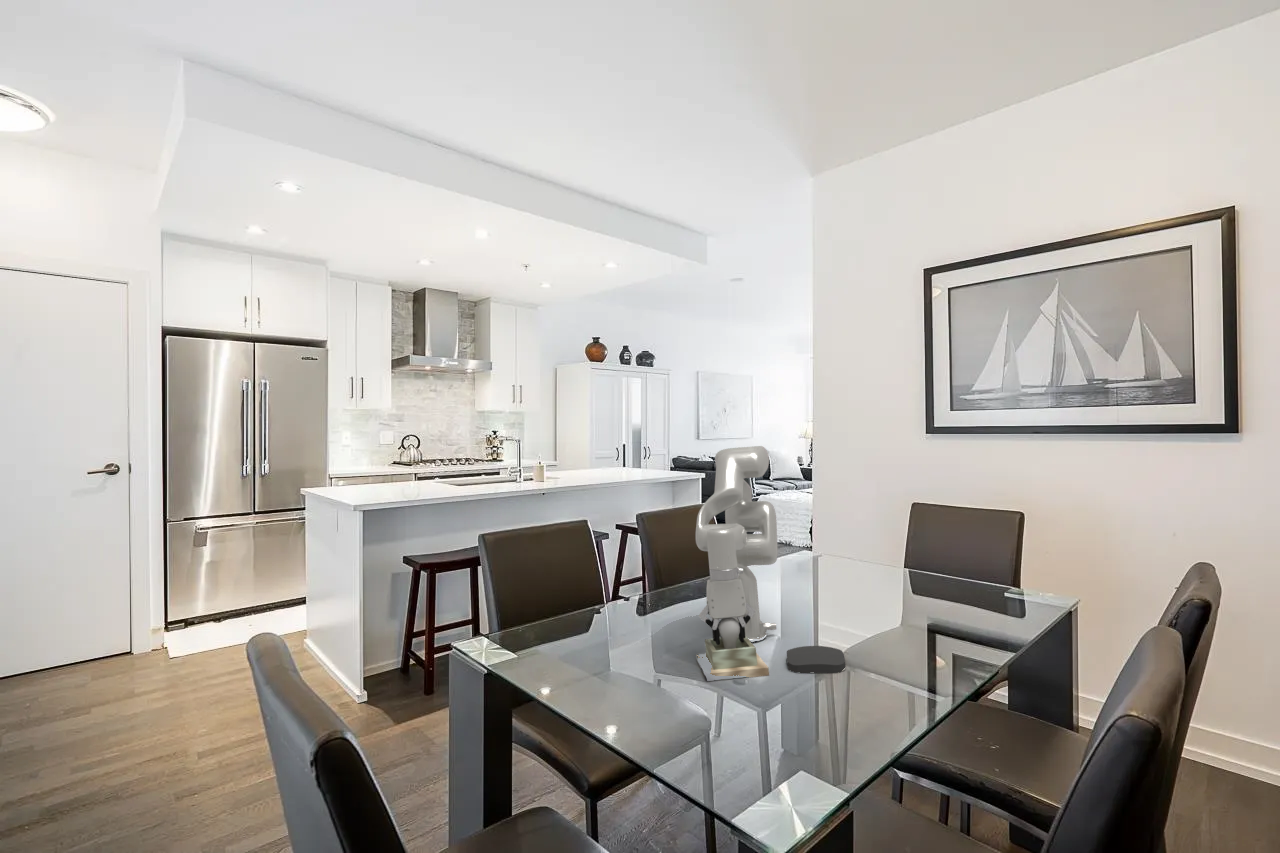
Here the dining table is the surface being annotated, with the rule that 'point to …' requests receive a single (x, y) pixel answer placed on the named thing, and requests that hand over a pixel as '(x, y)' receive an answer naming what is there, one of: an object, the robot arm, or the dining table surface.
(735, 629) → the lightbulb
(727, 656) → the base
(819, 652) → the media streaming box
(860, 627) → the dining table surface
